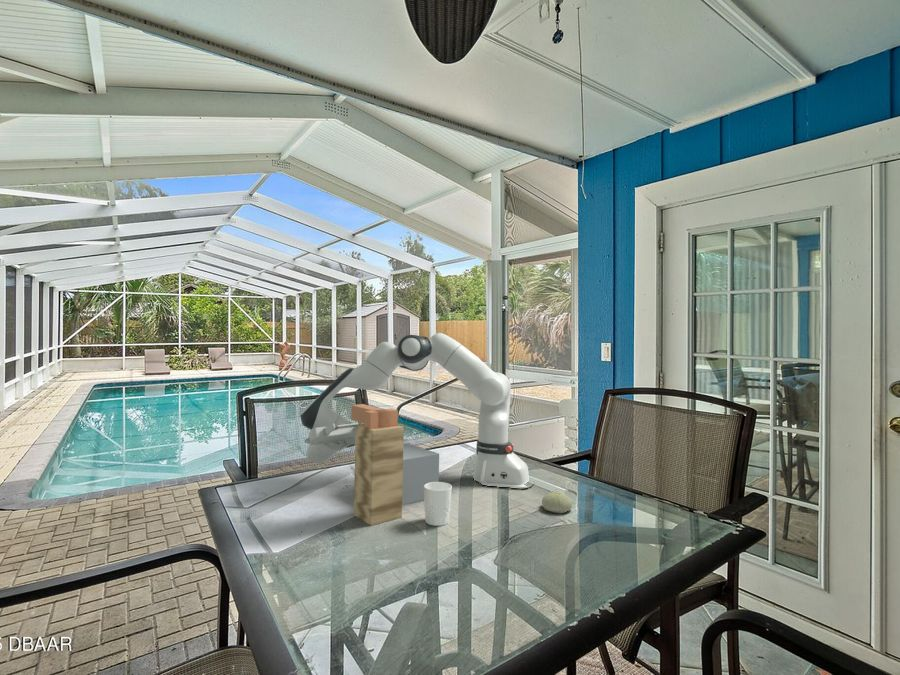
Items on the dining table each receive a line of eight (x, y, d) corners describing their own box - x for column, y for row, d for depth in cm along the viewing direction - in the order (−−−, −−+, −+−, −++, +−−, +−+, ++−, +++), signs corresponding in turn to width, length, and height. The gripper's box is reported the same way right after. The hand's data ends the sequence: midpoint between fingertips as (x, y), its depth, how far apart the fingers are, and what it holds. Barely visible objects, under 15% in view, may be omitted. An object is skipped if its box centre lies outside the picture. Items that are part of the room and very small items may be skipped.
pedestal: (401, 517, 136) (403, 426, 136) (371, 525, 130) (373, 430, 130) (383, 507, 144) (385, 421, 144) (353, 514, 137) (355, 424, 137)
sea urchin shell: (536, 505, 143) (542, 482, 148) (541, 518, 148) (547, 495, 153) (567, 511, 139) (572, 487, 144) (571, 524, 144) (576, 500, 149)
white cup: (448, 528, 129) (448, 491, 129) (420, 525, 131) (420, 489, 131) (453, 517, 137) (454, 483, 137) (427, 515, 138) (427, 480, 138)
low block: (438, 496, 154) (439, 453, 154) (399, 506, 145) (400, 460, 145) (407, 482, 168) (407, 443, 168) (369, 490, 159) (370, 448, 159)
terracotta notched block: (397, 425, 137) (398, 410, 137) (370, 429, 132) (370, 412, 132) (369, 417, 150) (370, 403, 150) (343, 420, 144) (344, 405, 144)
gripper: (300, 434, 155) (316, 417, 145) (357, 427, 168) (374, 412, 158) (304, 452, 152) (320, 437, 143) (361, 444, 165) (379, 429, 156)
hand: (349, 424), depth 151 cm, fingers open, 8 cm apart
